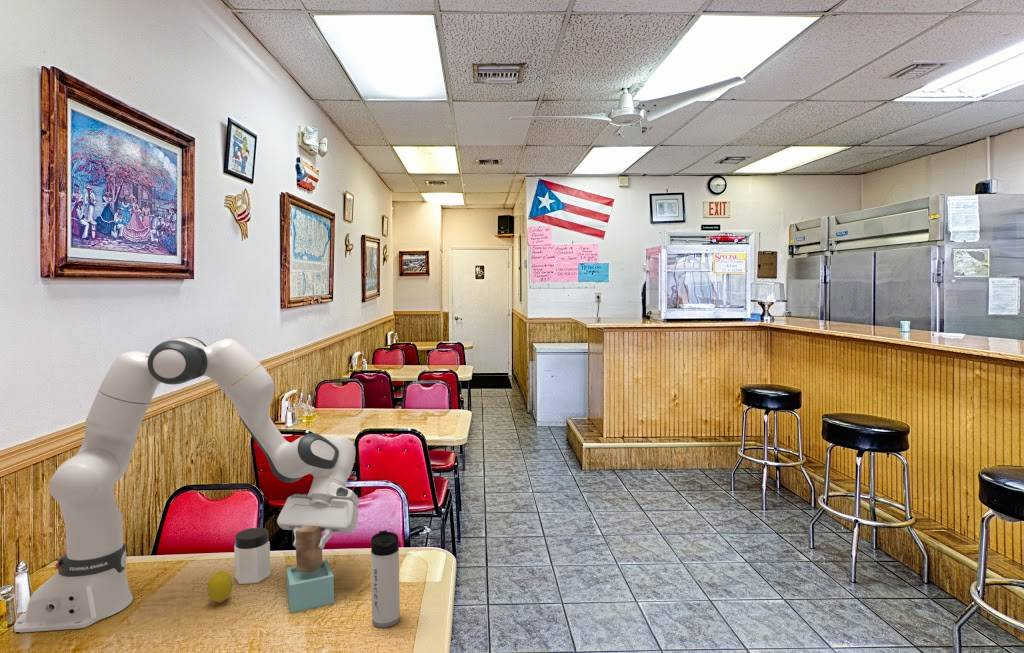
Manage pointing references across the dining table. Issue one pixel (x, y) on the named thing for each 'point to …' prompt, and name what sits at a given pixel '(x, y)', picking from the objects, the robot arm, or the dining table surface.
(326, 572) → the teal box
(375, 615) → the travel mug
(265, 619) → the dining table surface
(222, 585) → the lemon
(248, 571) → the jar
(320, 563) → the walnut block
